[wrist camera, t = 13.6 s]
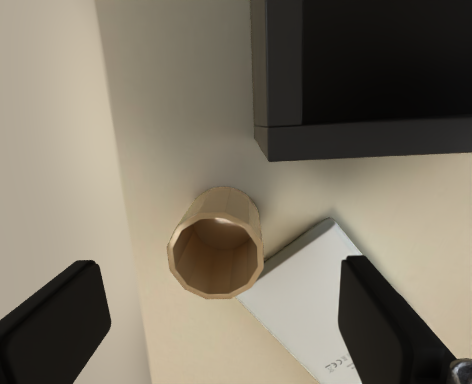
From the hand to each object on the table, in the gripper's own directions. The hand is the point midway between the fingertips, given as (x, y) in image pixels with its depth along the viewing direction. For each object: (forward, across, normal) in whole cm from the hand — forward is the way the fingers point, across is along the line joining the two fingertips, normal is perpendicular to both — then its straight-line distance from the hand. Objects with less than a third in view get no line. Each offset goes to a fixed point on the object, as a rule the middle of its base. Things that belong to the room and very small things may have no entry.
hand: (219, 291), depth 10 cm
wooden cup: (+7, +1, 0) cm, 8 cm away
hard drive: (+8, -7, +7) cm, 13 cm away
